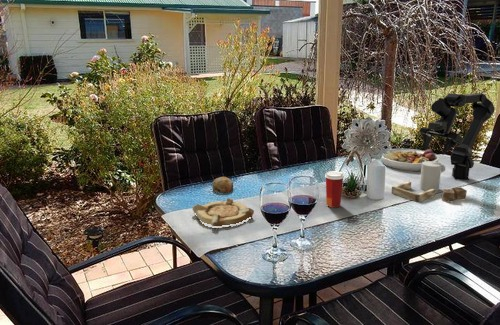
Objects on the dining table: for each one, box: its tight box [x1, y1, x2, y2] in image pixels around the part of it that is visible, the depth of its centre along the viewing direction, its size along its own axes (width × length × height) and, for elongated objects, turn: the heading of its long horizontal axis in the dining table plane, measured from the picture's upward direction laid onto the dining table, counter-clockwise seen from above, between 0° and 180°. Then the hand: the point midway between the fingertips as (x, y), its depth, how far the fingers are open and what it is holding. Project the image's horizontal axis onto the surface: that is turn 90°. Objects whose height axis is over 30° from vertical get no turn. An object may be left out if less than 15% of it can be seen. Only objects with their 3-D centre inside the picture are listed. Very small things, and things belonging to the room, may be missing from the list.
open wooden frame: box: [391, 180, 436, 203], centre depth 188 cm, size 12×13×3 cm
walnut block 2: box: [451, 186, 468, 201], centre depth 183 cm, size 4×4×4 cm
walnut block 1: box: [441, 188, 455, 203], centre depth 181 cm, size 4×4×4 cm
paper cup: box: [324, 170, 345, 208], centre depth 176 cm, size 8×8×14 cm
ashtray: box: [192, 197, 255, 226], centre depth 169 cm, size 24×24×5 cm
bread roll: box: [211, 176, 234, 194], centre depth 199 cm, size 10×10×8 cm
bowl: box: [380, 148, 440, 172], centre depth 232 cm, size 30×30×8 cm
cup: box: [419, 161, 442, 193], centre depth 193 cm, size 8×8×12 cm
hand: (433, 152), depth 192 cm, fingers open, 9 cm apart
